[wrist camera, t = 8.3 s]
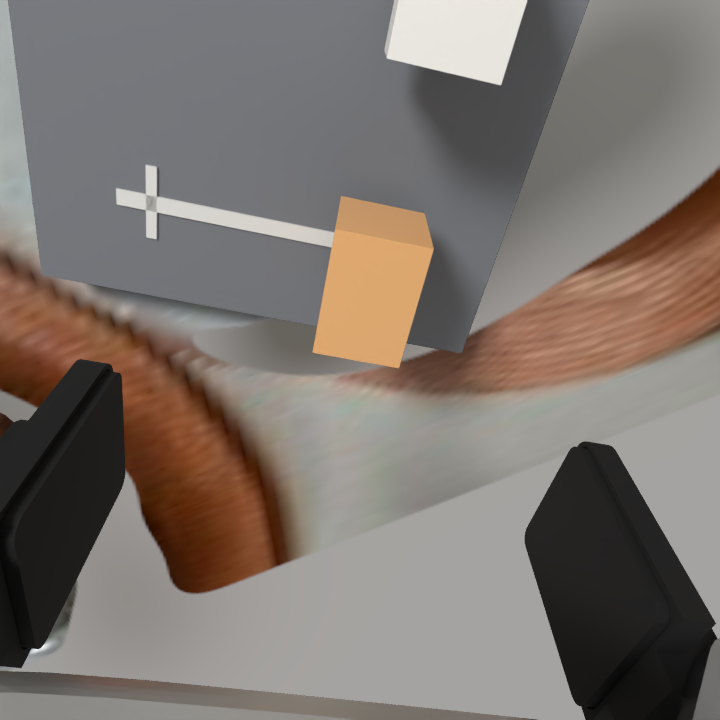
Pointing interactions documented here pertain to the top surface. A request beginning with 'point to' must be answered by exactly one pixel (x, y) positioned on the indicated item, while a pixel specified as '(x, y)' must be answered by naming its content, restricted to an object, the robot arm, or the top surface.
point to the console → (268, 147)
